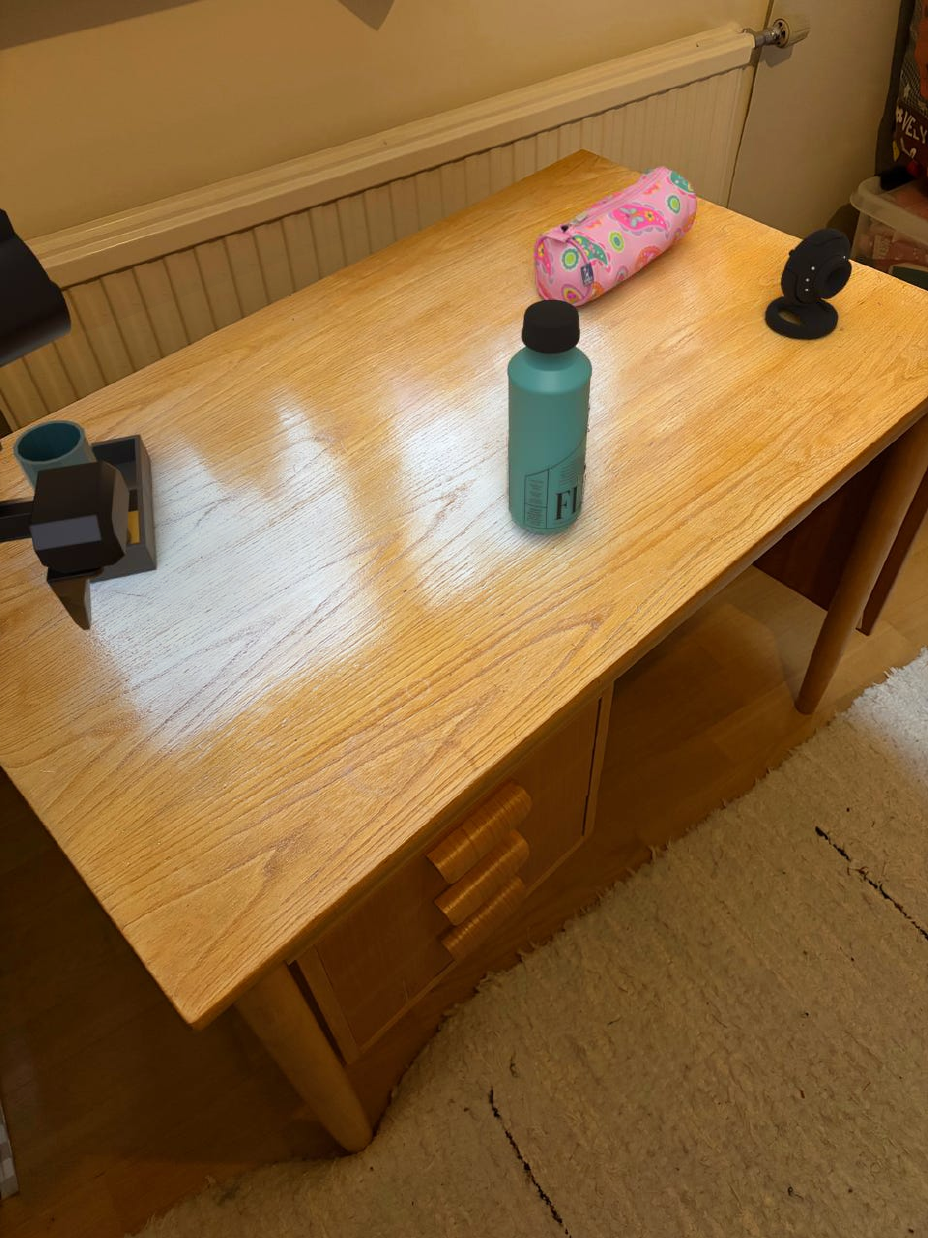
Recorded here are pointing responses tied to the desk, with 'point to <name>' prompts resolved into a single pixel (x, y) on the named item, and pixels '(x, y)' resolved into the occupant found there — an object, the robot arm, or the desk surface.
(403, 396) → the desk surface
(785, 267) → the webcam
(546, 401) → the beverage bottle
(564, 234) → the pencil case
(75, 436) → the cup
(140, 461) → the holder
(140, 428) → the desk surface
